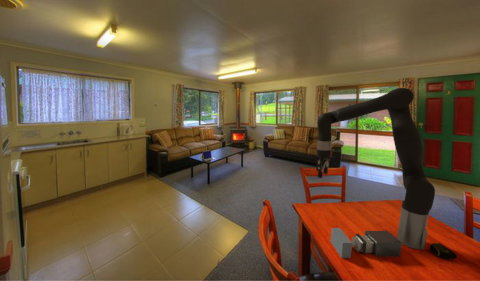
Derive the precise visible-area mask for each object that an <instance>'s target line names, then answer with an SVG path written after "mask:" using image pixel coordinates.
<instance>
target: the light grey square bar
mask: <svg viewBox="0 0 480 281" xmlns="http://www.w3.org/2000/svg"><path fill="white" fill-rule="evenodd" d="M351 242H352V248H354V250H356V252H361V253H362V254H364V255H365V254H374V251H375V242H374V241H373V240H372V239H371V238H370V237H369V236H368V235H365V234H364V235H362V234H361V235H360V234H359V233H355V236H352V238H351Z"/></svg>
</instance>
